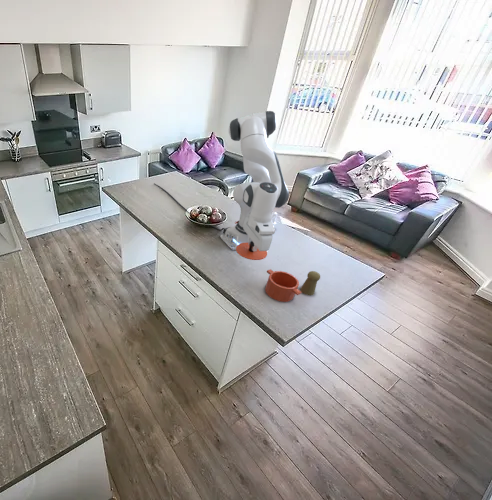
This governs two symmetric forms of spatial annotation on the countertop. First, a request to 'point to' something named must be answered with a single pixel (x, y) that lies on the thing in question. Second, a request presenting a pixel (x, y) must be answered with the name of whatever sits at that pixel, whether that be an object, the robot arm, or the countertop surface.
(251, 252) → the pot lid
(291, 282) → the pot
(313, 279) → the cork
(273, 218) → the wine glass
